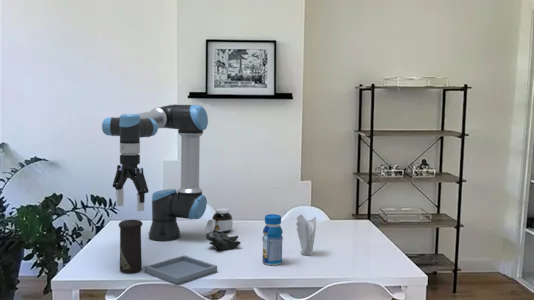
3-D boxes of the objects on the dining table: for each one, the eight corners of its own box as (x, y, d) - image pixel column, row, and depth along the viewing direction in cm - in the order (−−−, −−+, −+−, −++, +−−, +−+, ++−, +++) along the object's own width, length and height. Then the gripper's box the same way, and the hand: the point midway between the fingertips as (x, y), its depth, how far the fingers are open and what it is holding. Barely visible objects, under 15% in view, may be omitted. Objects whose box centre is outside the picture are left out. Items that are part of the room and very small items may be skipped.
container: (121, 267, 210) (120, 218, 208) (144, 266, 211) (143, 218, 209) (117, 274, 202) (116, 223, 200) (140, 273, 202) (140, 223, 200)
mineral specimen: (222, 243, 227) (219, 222, 232) (201, 253, 233) (199, 232, 238) (244, 248, 238) (241, 228, 243) (224, 257, 245) (221, 237, 249)
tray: (144, 272, 204) (144, 266, 204) (184, 261, 219) (184, 255, 219) (177, 285, 191) (177, 278, 191) (217, 272, 206) (217, 265, 206)
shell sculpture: (317, 252, 234) (318, 213, 233) (313, 257, 227) (314, 216, 225) (300, 250, 237) (300, 211, 235) (294, 255, 229) (295, 215, 228)
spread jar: (234, 231, 268) (234, 209, 267) (221, 236, 259) (221, 213, 258) (216, 228, 275) (216, 206, 274) (202, 232, 265) (202, 210, 264)
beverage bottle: (275, 267, 213) (276, 219, 211) (258, 263, 217) (258, 216, 215) (286, 261, 220) (286, 215, 218) (268, 258, 225) (269, 212, 223)
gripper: (103, 152, 207) (103, 205, 209) (141, 157, 191) (141, 214, 193) (119, 151, 213) (120, 202, 214) (157, 156, 196) (157, 211, 198)
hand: (130, 208), depth 204 cm, fingers open, 13 cm apart
